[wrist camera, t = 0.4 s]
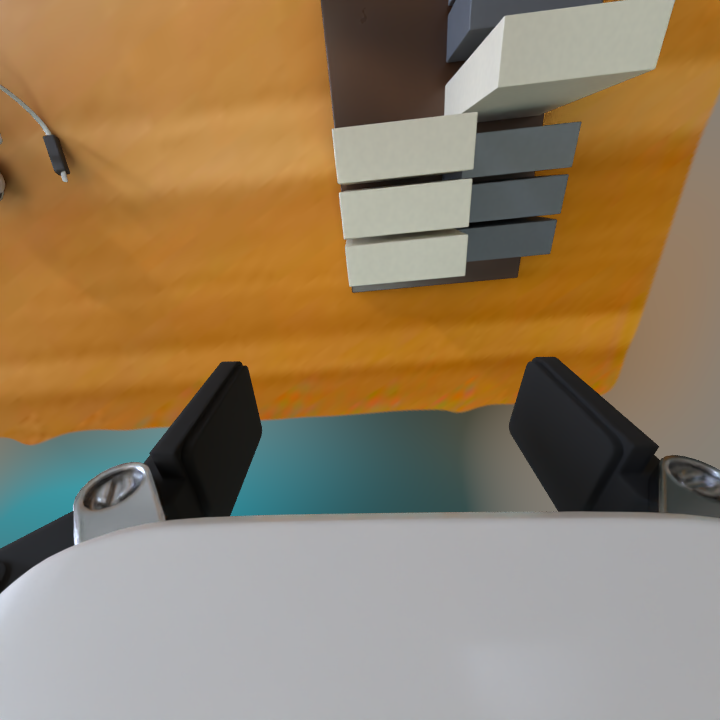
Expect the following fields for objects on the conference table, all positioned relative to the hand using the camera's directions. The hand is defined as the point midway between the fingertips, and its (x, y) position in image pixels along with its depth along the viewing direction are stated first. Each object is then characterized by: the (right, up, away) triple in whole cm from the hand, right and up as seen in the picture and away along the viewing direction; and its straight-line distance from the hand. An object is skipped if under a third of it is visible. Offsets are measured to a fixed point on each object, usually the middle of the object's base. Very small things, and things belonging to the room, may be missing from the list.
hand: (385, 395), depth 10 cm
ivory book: (+12, +25, +18) cm, 33 cm away
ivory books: (+2, +18, +22) cm, 29 cm away
